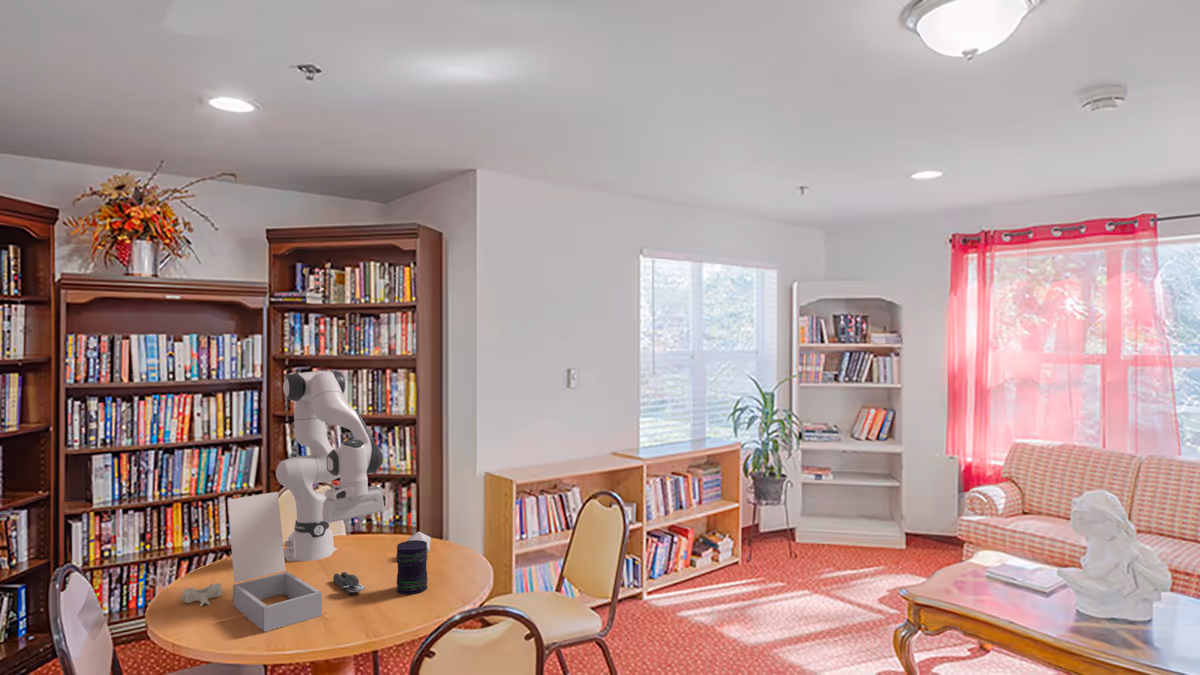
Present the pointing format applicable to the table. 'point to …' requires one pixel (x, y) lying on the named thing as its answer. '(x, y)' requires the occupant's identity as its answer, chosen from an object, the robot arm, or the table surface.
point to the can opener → (348, 582)
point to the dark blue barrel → (412, 567)
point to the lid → (256, 536)
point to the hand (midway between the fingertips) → (354, 530)
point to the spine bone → (202, 594)
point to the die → (421, 539)
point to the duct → (283, 613)
